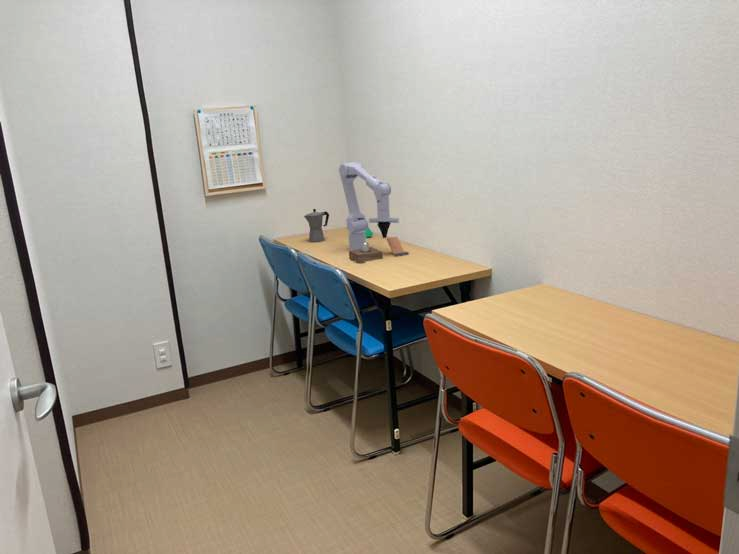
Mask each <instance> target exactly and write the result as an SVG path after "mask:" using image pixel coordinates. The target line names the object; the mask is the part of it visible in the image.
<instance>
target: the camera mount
mask: <svg viewBox="0 0 739 554" xmlns="http://www.w3.org/2000/svg"><path fill="white" fill-rule="evenodd" d="M349 235H350V232H348V236H349ZM373 236H374V233H373V231H372V230H371V229H370V227H369V226H368V229H367V230H366V232H365V239H367V238H368V237H373Z"/></svg>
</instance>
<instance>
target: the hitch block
mask: <svg viewBox="0 0 739 554" xmlns="http://www.w3.org/2000/svg"><path fill="white" fill-rule="evenodd" d="M383 253H384V252H383V251H382V250H380V249H377V248H375V247H372V246H369V252H364V253H363V252H362V249H357V250H348V256H349V257H348V258H349V260H351V261H353V260H354V261H353V262H355V261H356V262H355V263H357V262H358V263H357V264H359V263H361V264H366V262H370V261H375V260H381V259H384V256H383V255H384V254H383Z"/></svg>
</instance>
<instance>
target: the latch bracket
mask: <svg viewBox="0 0 739 554" xmlns="http://www.w3.org/2000/svg"><path fill="white" fill-rule="evenodd" d="M408 255H410V253H409V251H404V252H401V253H395V254H393V256H394V257H395V258H396V257H397V258H398V257H404V256H408Z"/></svg>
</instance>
